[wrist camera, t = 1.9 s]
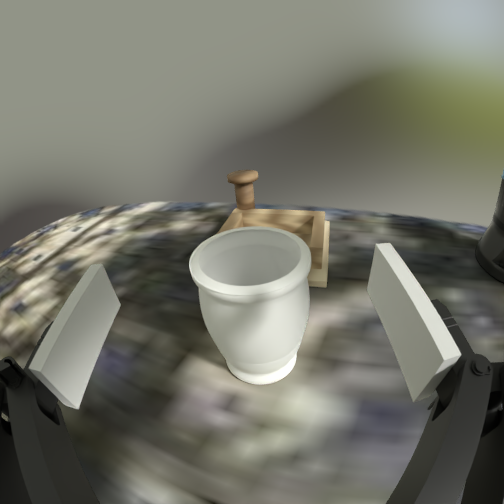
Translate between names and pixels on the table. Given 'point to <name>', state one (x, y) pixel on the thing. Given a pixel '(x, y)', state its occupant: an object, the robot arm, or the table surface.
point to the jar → (254, 298)
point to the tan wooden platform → (282, 224)
